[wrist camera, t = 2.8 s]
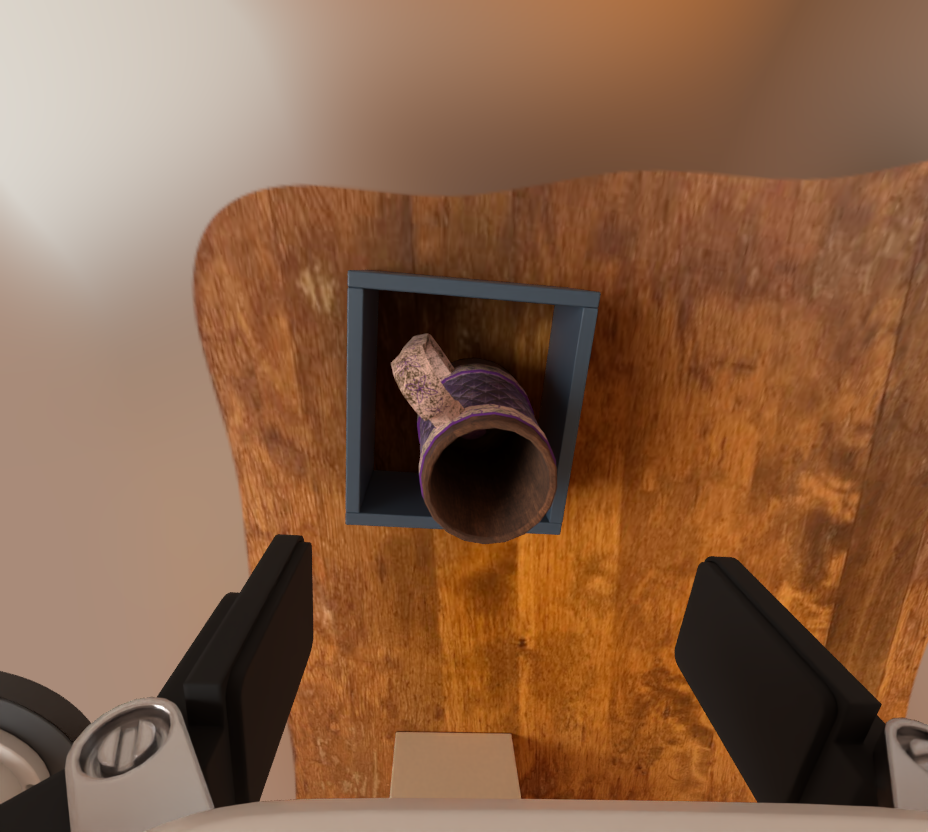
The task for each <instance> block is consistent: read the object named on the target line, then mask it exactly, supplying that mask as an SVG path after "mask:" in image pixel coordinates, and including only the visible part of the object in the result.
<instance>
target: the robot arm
mask: <svg viewBox="0 0 928 832" xmlns="http://www.w3.org/2000/svg"><path fill="white" fill-rule="evenodd" d="M312 643H313V589H312V545H311V543H310V542H304V539H303V536H300V535H280V534H278V535H276V536H275V537H274V539H273V540H272V542H271V544H270V545H269V547H268V548H267V550H266V552H265V553H264V555H263V556H262V558H261V560H260V561H259V563H258V564H257V566H256V568H255V569H254V571H253V572H252V574H251V576H250V577H249V579H248V581H247V582H246V584H245V585H244V587H243V589H242V590H241V592H240V593H233V592H230V593H228V594H226V595H225V596H224V597H223V599H222V600H221V601H220V603H219V605H218V606H217V607H216V609H215V610H214V612H213V613H212V615H211V616H210V618H209V620H208V621H207V622H206V624H205V626H204V627H203V628H202V630H201V631H200V633H199V635H198V636H197V637H196V639H195V641H194V642H193V643H192V645H191V647H190V648H189V649H188V651H187V652H186V654H185V656H184V657H183V659H182V660H181V661H180V663H179V664H178V666H177V668H176V669H175V671H174V672H173V673H172V675H171V676H170V678H169V679H168V681H167V682H166V684H165V685H164V687H163V688H162V690H161V692H160V693H159V695H158V696H157V697H148V698H141V699H135V700H133V701H130V702H127V703H124V704H121V705H119V706H117V707H115V708H113V709H112V710H110V711H108V712H106V713H105V714H103V715H101V716H100V717H99V718H98V719H97V720H95V721H94V722H93V723H91V724H90V725H89V726H88V727H87V728H86V729H85V730H84V731H83V732H82V733H81V734H80V736H79V737H78V738H77V739H76V740H75V741H74V743H73V745H72V747H71V749H70V751H69V753H68V755H67V758H66V765H65V769H63V770H61V771H59V772H57V773H56V774H54V775H52V776H50V774H49V771H48V769H47V767H46V765H45V763H44V762H43V760H42V759H41V758H40V756H39V755H38V754H37V753H36V752H35V751H34V750H33V749H32V748H31V747H30V746H29V745H28V744H26V743H25V742H23V741H22V740H20V739H19V738H17V737H16V736H14V735H12V734H10V733H8V732H6V731H4V730H2V729H0V832H928V725H927V724H924V723H922V722H919V721H916V720H911V719H907V718H892V719H891V720H889V721H888V722H886V724H885V723H884V722H883V721H882V720H881V719H880V718H879V717H878V716H877V713H878V711H879V709H880V707H881V705H882V704H881V703H880V702H879V701H878V700H877V699H876V698H875V697H874V696H873V695H872V694H871V693H870V692H869V691H868V690H867V689H866V688H865V687H864V686H863V685H862V684H861V683H860V682H859V681H858V680H857V679H856V678H855V677H854V676H853V675H852V674H851V673H850V672H849V671H848V670H847V669H846V668H845V667H844V666H843V665H842V664H841V663H840V662H839V661H838V660H837V659H836V658H835V657H834V656H833V655H832V654H831V653H830V652H829V651H828V650H827V649H826V648H825V647H824V646H823V645H822V644H821V643H820V642H819V641H818V640H817V639H816V638H815V637H814V636H813V635H812V634H811V633H810V632H809V631H808V630H807V629H806V628H805V627H804V626H803V625H802V624H801V623H800V622H799V621H798V620H797V619H796V618H795V617H794V616H793V615H792V614H791V613H790V612H789V611H788V610H787V609H786V608H785V607H784V606H783V605H782V604H781V603H780V602H779V601H778V600H777V599H776V598H775V597H774V596H773V595H772V594H771V593H770V592H769V591H768V590H767V589H766V588H765V587H764V586H763V585H762V584H761V583H760V582H759V581H758V580H757V579H756V578H755V577H754V576H753V575H752V574H751V573H750V572H749V571H748V570H747V569H746V568H745V567H744V566H743V565H742V564H741V563H740V562H739V561H738V560H737V559H735V558H732V557H714V556H710V557H708V558H707V559H706V560H705V562H702V563H700V564H699V566H698V569H697V573H696V576H695V580H694V583H693V587H692V590H691V594H690V597H689V601H688V604H687V608H686V611H685V615H684V618H683V622H682V625H681V629H680V632H679V636H678V639H677V643H676V646H675V659H676V663H677V665H678V667H679V669H680V670H681V672H682V674H683V676H684V677H685V679H686V681H687V682H688V684H689V686H690V688H691V689H692V691H693V693H694V694H695V696H696V698H697V700H698V701H699V703H700V705H701V706H702V708H703V710H704V712H705V713H706V715H707V717H708V718H709V720H710V722H711V724H712V725H713V727H714V729H715V730H716V732H717V734H718V736H719V737H720V739H721V741H722V742H723V744H724V746H725V748H726V749H727V751H728V753H729V754H730V756H731V758H732V760H733V761H734V763H735V765H736V766H737V768H738V770H739V772H740V773H741V775H742V777H743V778H744V780H745V782H746V784H747V785H748V787H749V789H750V790H751V792H752V794H753V795H754V797H755V799H756V801H757V802H758V803H745V802H698V801H639V800H570V799H474V798H336V799H294V800H279V801H263V802H259V801H260V798H261V795H262V792H263V789H264V786H265V783H266V780H267V777H268V775H269V771H270V768H271V766H272V763H273V760H274V757H275V754H276V751H277V748H278V746H279V742H280V740H281V736H282V734H283V731H284V728H285V725H286V722H287V719H288V717H289V714H290V711H291V708H292V705H293V702H294V699H295V696H296V693H297V690H298V687H299V685H300V682H301V679H302V676H303V673H304V670H305V667H306V664H307V661H308V658H309V656H310V652H311V649H312Z"/></svg>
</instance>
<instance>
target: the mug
mask: <svg viewBox="0 0 928 832" xmlns="http://www.w3.org/2000/svg"><path fill="white" fill-rule="evenodd" d="M391 366H392V370H393V375H394V379H395V381H396V383H397V385H398V387H399V388H400V390H401V392H402V394H403V396H404V398H405V399H406V400H407V401H408V403H409V404H410V405H411V406H412V408H413V409H414V410H415V412H416V413H417V414H418V415H417V429H418V437H419V443H420V462H419V479H420V487H421V494H422V497H423V499H424V502H425V504H426V506H427V508H428V510H429V512H430V514H431V516H432V518H433V519H434V520H435V521H436V522H437V523H438V524H439V525H440V526H441V527H442V528H443V529H444V530H445V531H446V532H448V533H450V534H452V535H454V536H456V537H458V538H460V539H462V540H464V541H469V542H475V543H481V544H491V543H500V542H506V541H509V540H511V539H514V538H516V537H519V536H521V535H523V534H525V533H526V532H528V531H529V530H530V529H532V528H533V527H534V526H535V525H537V524H538V523H539V522H540V521H541V520H542V518H543V517H544V516H545V514H546V513H547V511H548V510H549V509H550V507H551V506H552V503H553V499H554V496H555V493H556V490H557V467H556V460H555V457H554V455H553V452H552V450H551V447H550V445H549V442H548V440H547V438H546V436H545V434H544V432H543V431H542V430H541V429H540V427H539V425H538V423H537V421H536V419H535V417H534V411H533V409H532V406H531V404H530V401H529V399H528V396H527V394H526V393H525V391H524V389H523V388H522V387H521V386H520V384H519V383H518V382H517V381H516V380H515V379H514V378H513V376H511V375H510V373H509V372H508V371H507V370H506V369H504V368H502V367H501V366H499V365H497V364H496V363H494V362H492V361H487V360H483V359H478V358H472V359H462V360H457V361H455V362H453V363H450V361H449V360H448V358H447V357H446V355H445V354H444V352H443V351H442V350H441V348H440V347H439V345H438V344H437V343H436V341H435V340H434V338H433V337H432V336H431V335H430V334H428V333H427V334H422V335H417V336H413V337H412V338H411V340H410V341H409V342H408V343H407V344H406V345H405V346H404V347H403V349H402V351H401V353H400V354H399V355H398V356H397V357H396V358H395V359H394V360H393V361H392V362H391Z"/></svg>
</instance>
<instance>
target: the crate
mask: <svg viewBox="0 0 928 832" xmlns="http://www.w3.org/2000/svg"><path fill="white" fill-rule="evenodd" d="M348 287H349V288H348V303H347V416H346V524H347V525H367V526H388V527H409V528H430V529H443V528H442V527H441V526H440V525H439V524H438V523H437V522H436V521H435V520H434V519H433V518H432V516H431V514H430V512H429V510H428V508H427V506H426V504H425V502H424V499H423V497H422V494H421V487H420V479H419V473H415V472H397V471H379V470H374V445H375V410H376V375H377V340H378V305H379V290H388V291H399V292H411V293H423V294H435V295H446V296H458V297H470V298H482V299H493V300H505V301H517V302H529V303H540V304H552V305H555V307H554V314H553V321H552V328H551V335H550V342H549V349H548V356H547V363H546V371H545V378H544V385H543V392H542V399H541V406H540V413H539V420H538V425H539V427H540V429H541V430H542V431H543V432H544V434H545V436H546V438H547V440H548V442H549V445H550V447H551V450H552V452H553V455H554V457H555V460H556V467H557V490H556V493H555V496H554V499H553V503H552V506H551V507H550V509H549V510H548V511H547V513H546V514H545V516H544V517H543V518H542V520H541V521H540V522H539V523H538V524H537V525H535V526H534V527H533V528H532V529H530V530H529V531H528V532H526V533H534V534H555V535H560V532H561V526H562V521H563V515H564V509H565V503H566V497H567V491H568V486H569V480H570V474H571V468H572V462H573V456H574V450H575V444H576V438H577V432H578V426H579V420H580V414H581V409H582V403H583V397H584V391H585V385H586V379H587V373H588V367H589V361H590V355H591V349H592V343H593V337H594V332H595V326H596V320H597V314H598V309H597V308H598V306H599V301H600V295H601V294H600V292H595V291H588V290H582V289H575V288H568V287H556V286H545V285H534V284H522V283H511V282H499V281H488V280H477V279H465V278H454V277H443V276H431V275H420V274H409V273H397V272H386V271H375V270H349V271H348Z"/></svg>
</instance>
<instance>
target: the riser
mask: <svg viewBox="0 0 928 832" xmlns="http://www.w3.org/2000/svg"><path fill="white" fill-rule="evenodd" d="M390 798H474V799H521V794H520V787H519V781H518V774H517V768H516V761H515V755H514V748H513V742H512V735H511V734H502V733H439V732H396V737H395V747H394V758H393V768H392V779H391V789H390Z"/></svg>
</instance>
